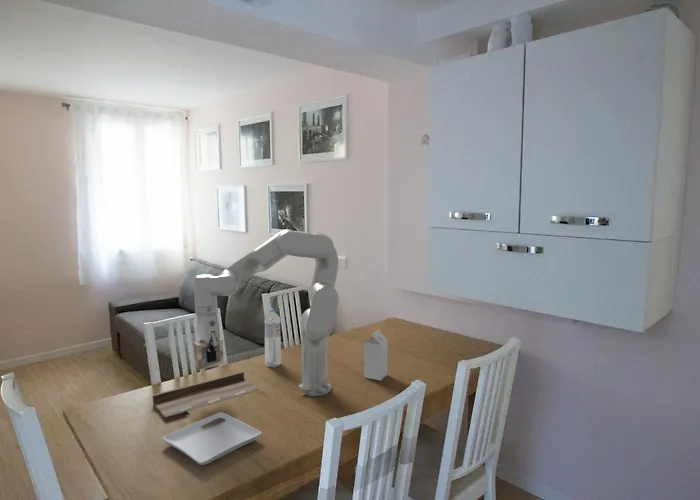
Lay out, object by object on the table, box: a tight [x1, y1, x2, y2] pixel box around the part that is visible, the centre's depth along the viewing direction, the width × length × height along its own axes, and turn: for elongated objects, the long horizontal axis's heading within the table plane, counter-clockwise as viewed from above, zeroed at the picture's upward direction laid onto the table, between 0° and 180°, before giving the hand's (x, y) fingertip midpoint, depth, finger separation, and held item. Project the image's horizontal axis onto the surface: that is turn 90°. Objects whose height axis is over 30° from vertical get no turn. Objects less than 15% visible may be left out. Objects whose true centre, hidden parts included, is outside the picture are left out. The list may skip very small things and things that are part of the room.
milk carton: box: [363, 329, 389, 381], centre depth 183 cm, size 7×7×19 cm
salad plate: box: [161, 411, 262, 466], centre depth 134 cm, size 21×21×3 cm
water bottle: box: [263, 308, 282, 368], centre depth 195 cm, size 7×7×25 cm
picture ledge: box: [152, 371, 260, 422], centre depth 162 cm, size 14×34×4 cm, turn 129°
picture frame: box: [193, 337, 224, 371], centre depth 160 cm, size 4×9×9 cm, turn 129°
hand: (209, 359), depth 160 cm, fingers closed on picture frame, 4 cm apart
